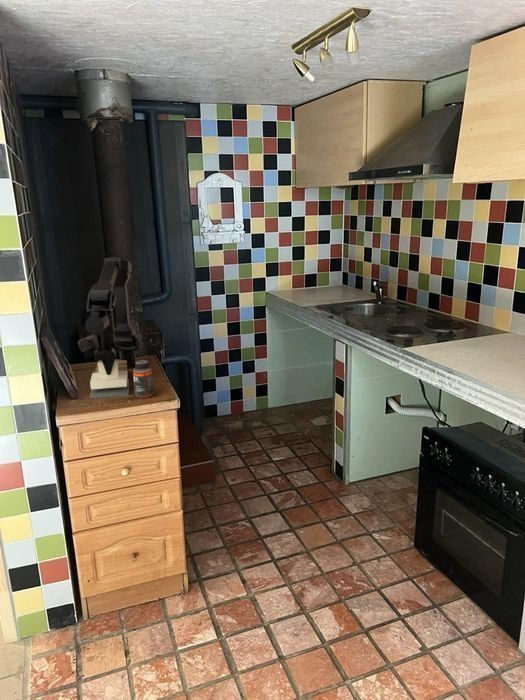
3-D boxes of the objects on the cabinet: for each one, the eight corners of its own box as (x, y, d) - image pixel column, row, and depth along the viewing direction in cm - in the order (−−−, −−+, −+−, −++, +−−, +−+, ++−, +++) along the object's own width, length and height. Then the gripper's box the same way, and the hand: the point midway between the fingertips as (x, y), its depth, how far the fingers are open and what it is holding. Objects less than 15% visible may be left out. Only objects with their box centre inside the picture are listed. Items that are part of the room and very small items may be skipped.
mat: (93, 384, 184) (93, 382, 184) (129, 381, 186) (129, 379, 186) (89, 398, 171) (89, 396, 171) (128, 395, 173) (128, 393, 173)
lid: (93, 380, 181) (91, 358, 179) (127, 377, 183) (125, 356, 181) (90, 389, 173) (88, 367, 171) (126, 386, 175) (124, 364, 173)
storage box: (98, 375, 193) (97, 362, 191) (127, 373, 195) (126, 360, 193) (96, 382, 185) (95, 369, 184) (126, 380, 187) (125, 366, 186)
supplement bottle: (155, 391, 176) (152, 358, 173) (152, 398, 170) (149, 364, 167) (136, 392, 176) (134, 359, 173) (133, 399, 170) (130, 364, 167)
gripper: (81, 321, 180) (86, 366, 184) (74, 335, 162) (80, 384, 167) (116, 320, 182) (120, 364, 186) (112, 333, 165) (117, 381, 169)
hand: (109, 373), depth 177 cm, fingers closed on lid, 3 cm apart
